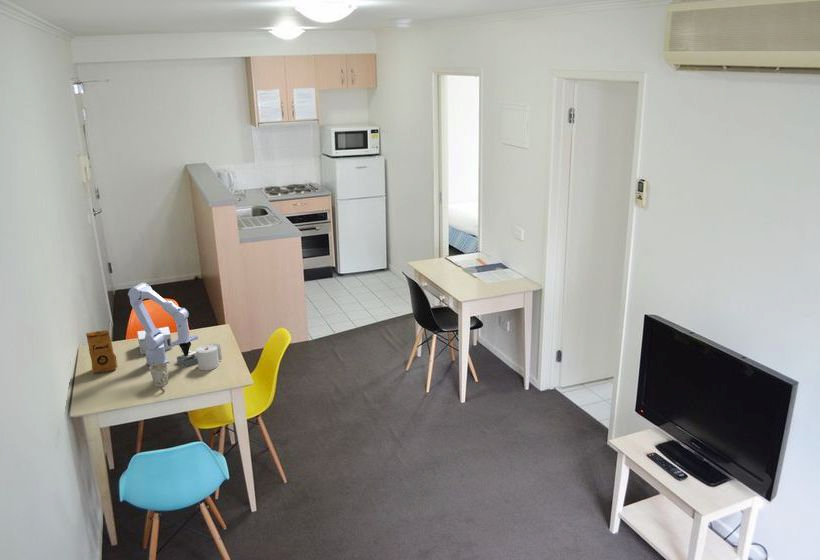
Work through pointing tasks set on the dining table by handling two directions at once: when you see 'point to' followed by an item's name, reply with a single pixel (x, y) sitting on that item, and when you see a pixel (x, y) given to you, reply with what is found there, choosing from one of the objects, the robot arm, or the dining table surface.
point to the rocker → (191, 354)
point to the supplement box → (143, 342)
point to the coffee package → (101, 351)
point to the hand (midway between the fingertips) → (186, 355)
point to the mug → (159, 374)
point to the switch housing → (187, 360)
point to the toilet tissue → (208, 356)
